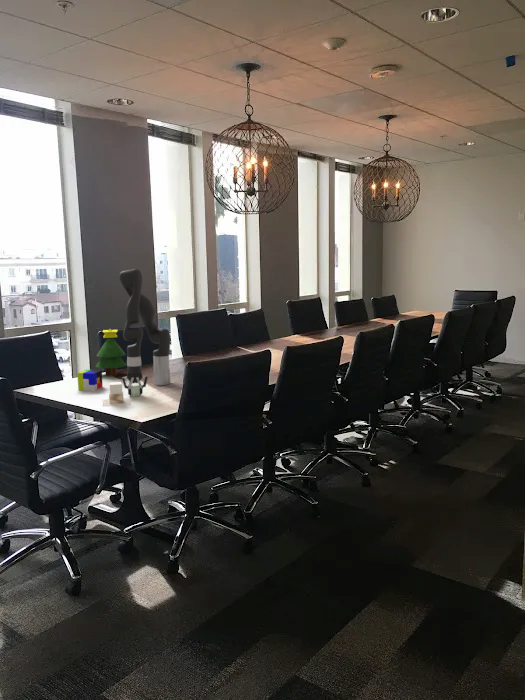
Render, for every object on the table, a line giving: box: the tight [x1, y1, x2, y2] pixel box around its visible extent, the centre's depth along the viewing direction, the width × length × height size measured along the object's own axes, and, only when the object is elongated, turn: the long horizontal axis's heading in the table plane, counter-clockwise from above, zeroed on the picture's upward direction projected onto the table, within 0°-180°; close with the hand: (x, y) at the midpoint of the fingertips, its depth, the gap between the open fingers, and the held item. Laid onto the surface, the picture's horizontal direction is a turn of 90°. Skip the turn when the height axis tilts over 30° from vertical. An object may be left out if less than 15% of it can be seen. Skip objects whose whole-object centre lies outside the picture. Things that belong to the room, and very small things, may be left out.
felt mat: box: [102, 397, 132, 407], centre depth 310 cm, size 14×14×1 cm
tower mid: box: [109, 381, 123, 394], centre depth 309 cm, size 6×6×5 cm
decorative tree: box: [95, 328, 127, 377], centre depth 377 cm, size 19×19×30 cm
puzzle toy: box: [77, 369, 104, 392], centre depth 342 cm, size 10×10×10 cm
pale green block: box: [130, 384, 141, 398], centre depth 323 cm, size 5×5×6 cm
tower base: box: [108, 390, 125, 404], centre depth 310 cm, size 7×7×5 cm
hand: (135, 395), depth 323 cm, fingers closed on pale green block, 5 cm apart
